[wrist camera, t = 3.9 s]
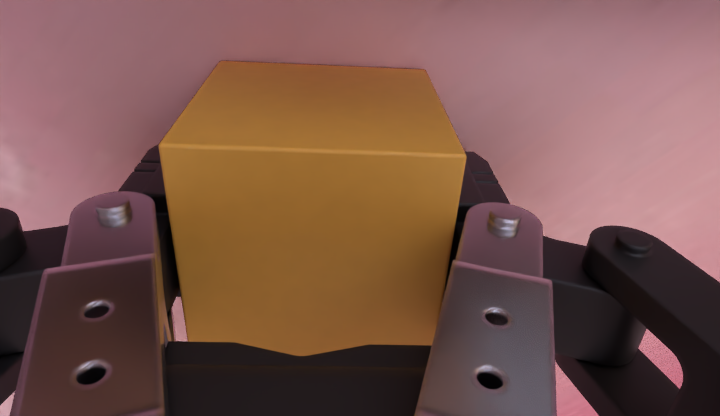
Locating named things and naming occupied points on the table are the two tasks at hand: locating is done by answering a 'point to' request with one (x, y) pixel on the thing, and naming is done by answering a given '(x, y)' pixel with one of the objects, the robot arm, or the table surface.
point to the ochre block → (312, 206)
